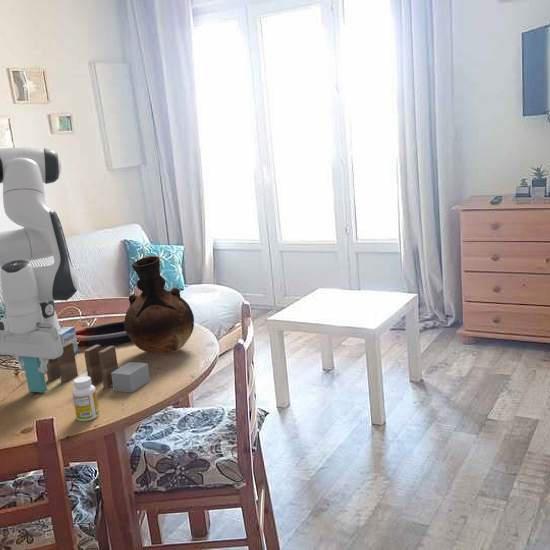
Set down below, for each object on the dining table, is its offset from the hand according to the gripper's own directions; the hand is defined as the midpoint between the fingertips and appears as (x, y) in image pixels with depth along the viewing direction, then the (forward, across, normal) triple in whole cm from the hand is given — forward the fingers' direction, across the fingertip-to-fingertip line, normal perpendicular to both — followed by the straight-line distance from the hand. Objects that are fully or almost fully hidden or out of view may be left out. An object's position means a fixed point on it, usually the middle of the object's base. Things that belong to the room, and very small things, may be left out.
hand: (34, 371), depth 171 cm
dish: (+7, +9, -42) cm, 43 cm away
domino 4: (+6, -12, -10) cm, 17 cm away
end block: (+6, -24, -10) cm, 27 cm away
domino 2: (+6, +3, -10) cm, 12 cm away
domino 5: (+6, -17, -10) cm, 21 cm away
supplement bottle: (+6, -25, +9) cm, 27 cm away
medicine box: (+6, +13, -25) cm, 29 cm away
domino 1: (+6, 0, 0) cm, 6 cm away
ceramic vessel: (+6, -17, -35) cm, 39 cm away
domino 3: (+6, -2, -10) cm, 12 cm away
